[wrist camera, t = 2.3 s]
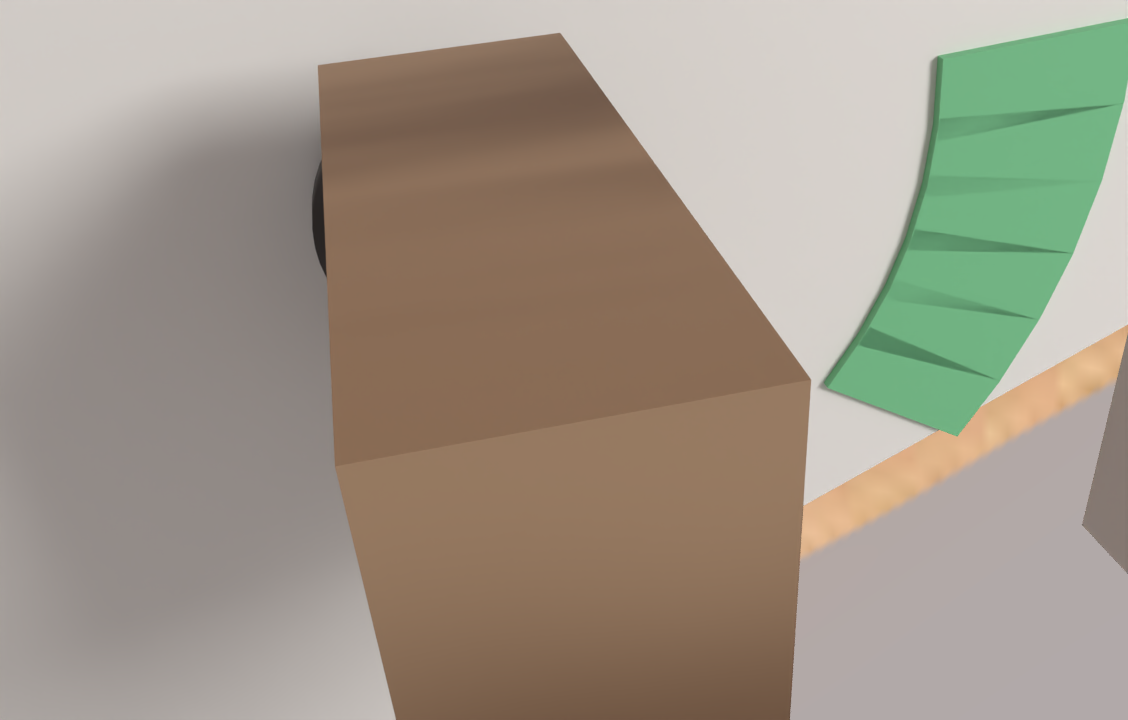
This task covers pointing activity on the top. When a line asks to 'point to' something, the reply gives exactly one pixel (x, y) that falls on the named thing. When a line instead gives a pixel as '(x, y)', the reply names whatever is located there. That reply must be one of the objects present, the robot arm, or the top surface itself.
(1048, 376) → the top surface
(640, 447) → the key
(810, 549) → the top surface
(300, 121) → the dial board
